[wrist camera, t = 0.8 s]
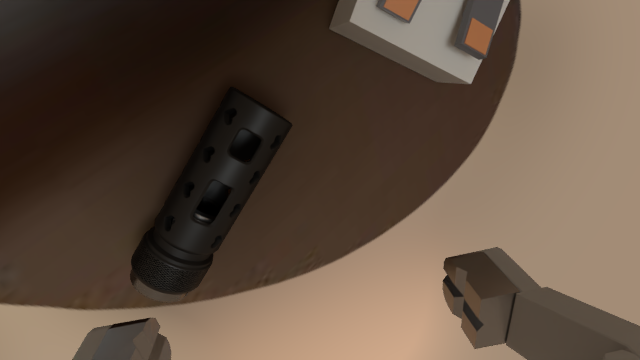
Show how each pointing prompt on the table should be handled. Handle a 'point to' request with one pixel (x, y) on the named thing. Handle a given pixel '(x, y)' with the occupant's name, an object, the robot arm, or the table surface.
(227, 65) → the table surface
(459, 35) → the block
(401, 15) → the block
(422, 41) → the switch box
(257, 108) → the muzzle brake
